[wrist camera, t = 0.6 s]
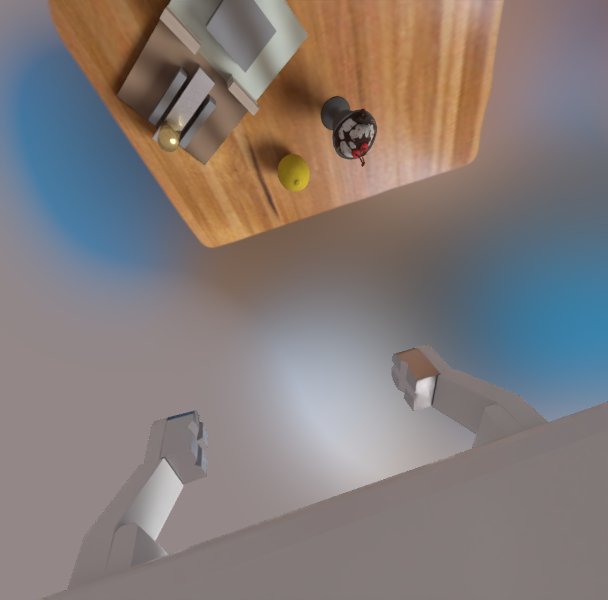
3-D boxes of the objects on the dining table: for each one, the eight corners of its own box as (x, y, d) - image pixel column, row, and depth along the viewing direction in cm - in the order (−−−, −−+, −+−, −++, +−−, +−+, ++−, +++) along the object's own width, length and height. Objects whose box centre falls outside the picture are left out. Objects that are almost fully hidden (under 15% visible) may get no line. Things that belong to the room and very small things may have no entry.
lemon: (268, 167, 54) (275, 188, 49) (286, 140, 51) (295, 160, 46) (292, 183, 57) (300, 204, 52) (310, 158, 54) (321, 179, 49)
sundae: (327, 143, 53) (354, 183, 43) (309, 107, 48) (335, 143, 38) (360, 120, 51) (395, 156, 41) (345, 80, 46) (381, 111, 37)
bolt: (169, 146, 46) (165, 164, 42) (153, 133, 45) (147, 151, 40) (215, 81, 42) (216, 94, 37) (199, 64, 40) (198, 76, 36)
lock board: (204, 162, 51) (204, 176, 47) (118, 93, 42) (110, 105, 38) (306, 34, 41) (315, 40, 38) (223, -91, 32) (224, -98, 29)
